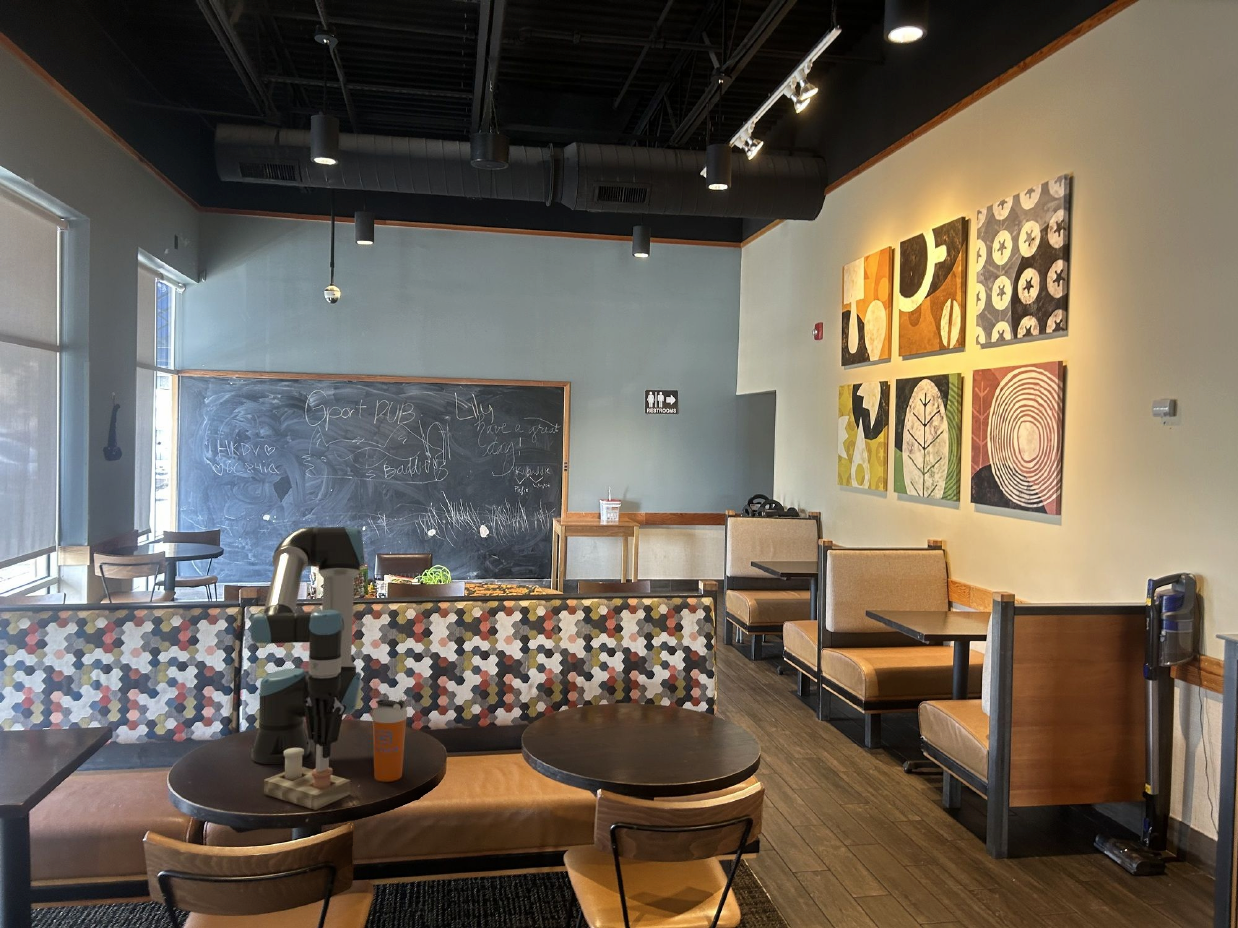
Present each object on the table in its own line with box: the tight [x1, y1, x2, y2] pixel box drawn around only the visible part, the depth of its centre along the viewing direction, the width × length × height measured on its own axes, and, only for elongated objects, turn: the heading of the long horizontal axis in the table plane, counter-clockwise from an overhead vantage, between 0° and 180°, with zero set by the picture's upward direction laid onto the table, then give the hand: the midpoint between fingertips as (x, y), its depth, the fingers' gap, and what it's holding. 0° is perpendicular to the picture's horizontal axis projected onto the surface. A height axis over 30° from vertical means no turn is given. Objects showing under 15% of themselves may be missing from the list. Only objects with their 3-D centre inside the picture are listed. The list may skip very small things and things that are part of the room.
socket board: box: [263, 766, 351, 811], centre depth 211 cm, size 18×11×4 cm, turn 62°
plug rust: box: [312, 767, 333, 790], centre depth 209 cm, size 5×5×7 cm
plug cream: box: [284, 748, 304, 781], centre depth 213 cm, size 5×5×7 cm
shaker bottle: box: [371, 698, 408, 783], centre depth 224 cm, size 9×9×20 cm
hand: (322, 769), depth 209 cm, fingers closed
